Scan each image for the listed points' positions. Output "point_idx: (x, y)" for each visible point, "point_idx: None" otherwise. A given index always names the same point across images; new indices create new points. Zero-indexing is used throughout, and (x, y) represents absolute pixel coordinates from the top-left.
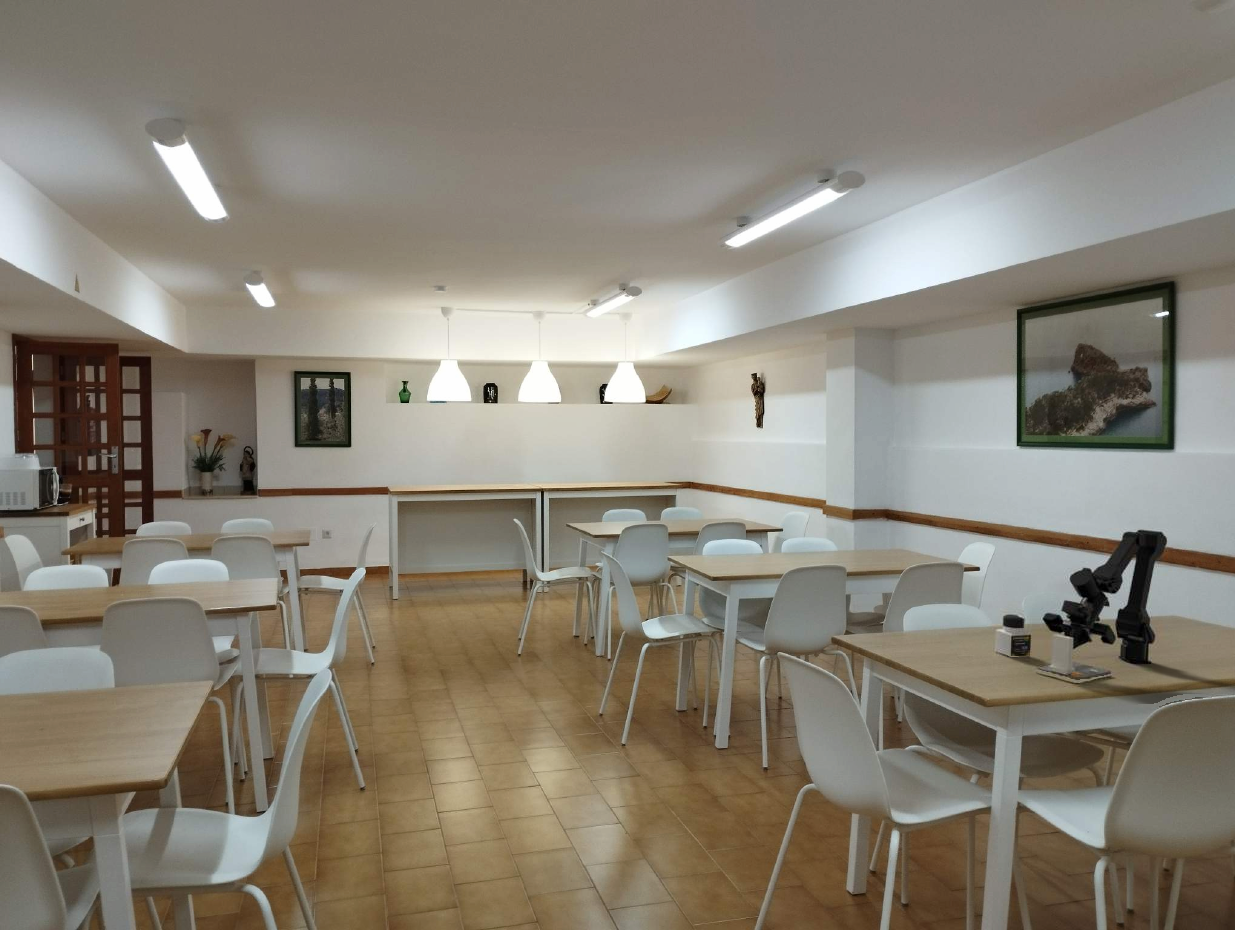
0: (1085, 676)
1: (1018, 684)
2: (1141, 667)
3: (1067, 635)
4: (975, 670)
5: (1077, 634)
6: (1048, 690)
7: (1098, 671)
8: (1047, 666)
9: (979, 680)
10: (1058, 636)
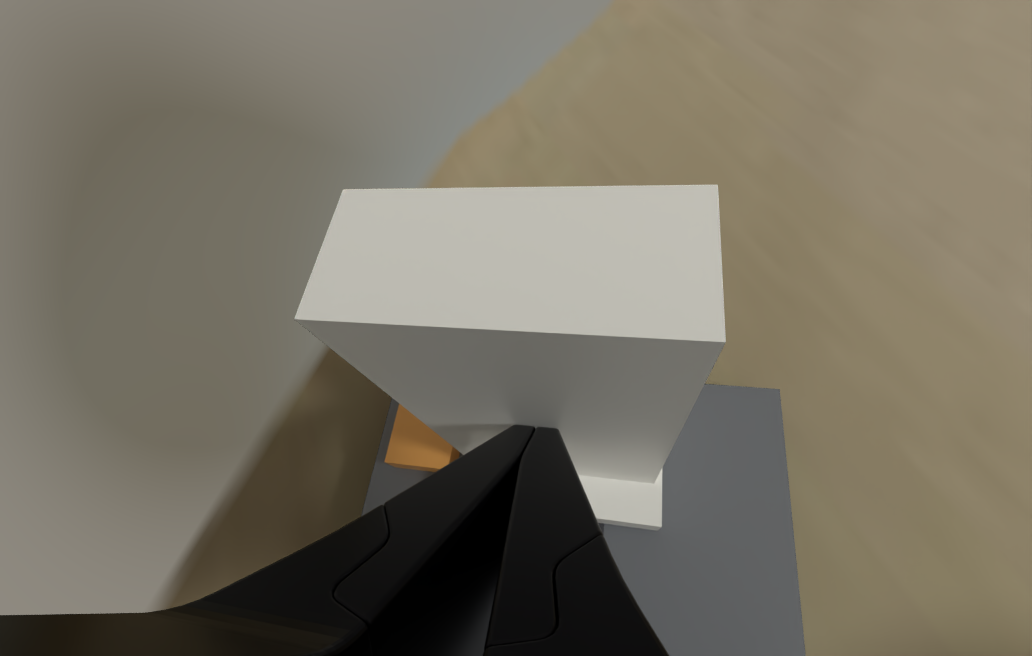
0: (375, 486)
1: (639, 102)
2: None
3: (537, 595)
4: (1021, 109)
5: (206, 612)
6: (482, 141)
7: None
8: (769, 542)
9: (801, 6)
10: (568, 191)
